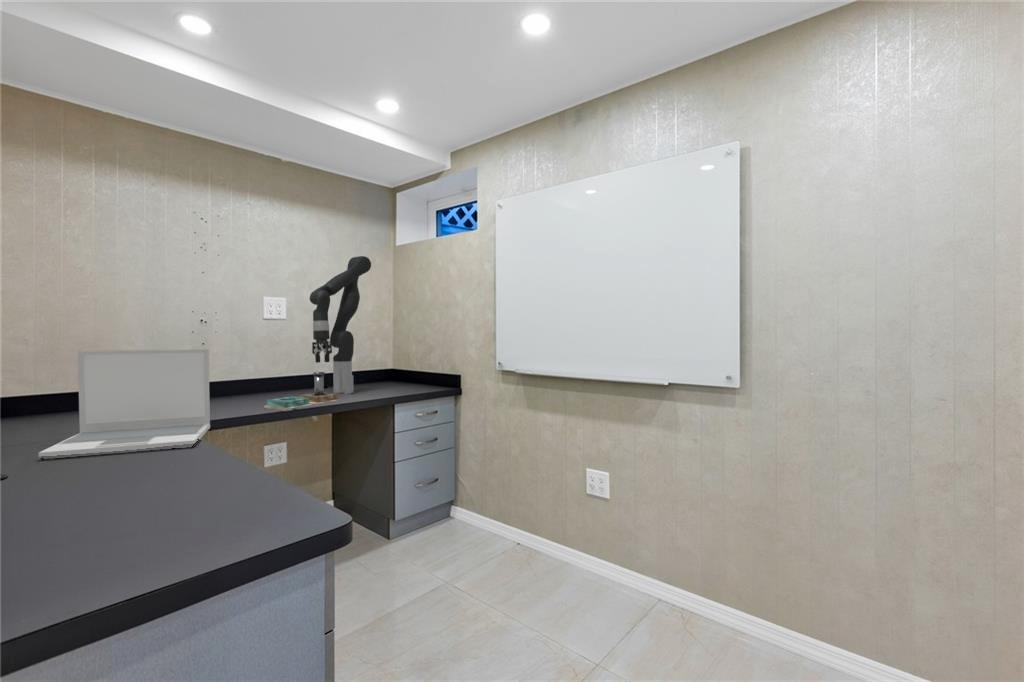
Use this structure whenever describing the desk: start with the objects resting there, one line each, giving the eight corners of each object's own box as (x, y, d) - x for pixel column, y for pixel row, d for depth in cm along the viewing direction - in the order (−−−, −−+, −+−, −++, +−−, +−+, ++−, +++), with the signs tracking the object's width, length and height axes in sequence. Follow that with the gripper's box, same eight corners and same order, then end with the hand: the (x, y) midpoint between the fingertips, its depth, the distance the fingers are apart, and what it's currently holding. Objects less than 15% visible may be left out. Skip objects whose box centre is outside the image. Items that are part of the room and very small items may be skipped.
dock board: (320, 399, 233) (320, 391, 233) (341, 401, 226) (341, 394, 226) (264, 407, 208) (264, 399, 208) (286, 411, 201) (285, 402, 200)
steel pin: (320, 398, 227) (319, 371, 227) (327, 399, 225) (327, 372, 224) (311, 400, 223) (310, 372, 222) (318, 401, 220) (318, 373, 220)
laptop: (39, 462, 126) (35, 355, 126) (81, 440, 151) (79, 350, 150) (194, 449, 140) (192, 353, 140) (210, 430, 165) (209, 348, 164)
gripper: (335, 329, 238) (337, 361, 238) (320, 330, 247) (321, 362, 246) (321, 329, 232) (323, 362, 232) (306, 330, 241) (307, 363, 241)
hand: (322, 362), depth 239 cm, fingers open, 8 cm apart
